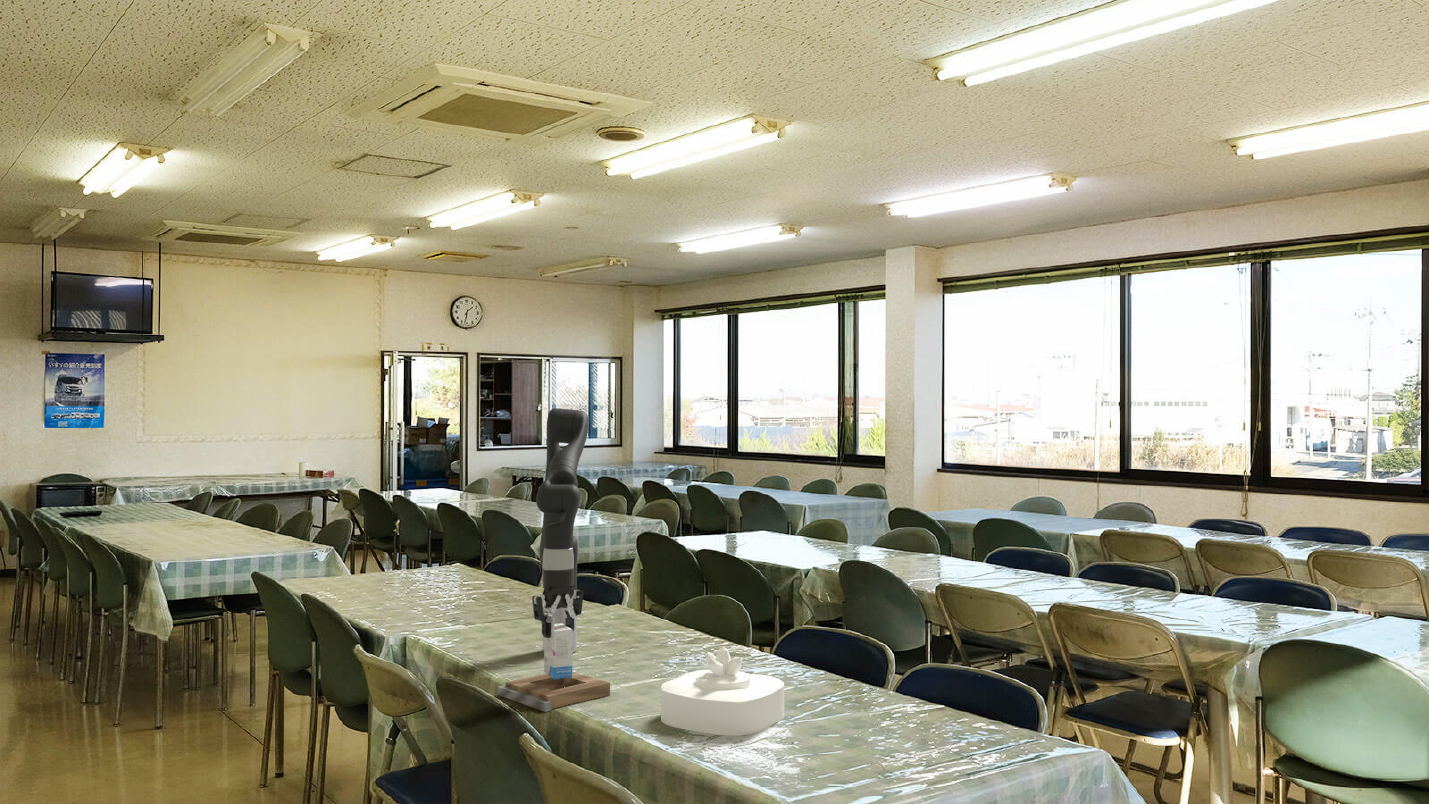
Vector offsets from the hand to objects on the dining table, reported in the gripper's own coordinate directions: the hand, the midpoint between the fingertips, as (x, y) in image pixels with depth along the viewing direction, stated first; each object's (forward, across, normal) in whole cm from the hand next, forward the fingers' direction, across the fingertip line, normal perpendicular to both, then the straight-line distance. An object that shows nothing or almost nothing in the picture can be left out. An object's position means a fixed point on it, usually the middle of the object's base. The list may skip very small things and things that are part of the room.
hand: (558, 635), depth 254 cm
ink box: (+10, 0, 0) cm, 10 cm away
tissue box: (+15, -16, +41) cm, 46 cm away
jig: (+14, 0, 0) cm, 14 cm away
